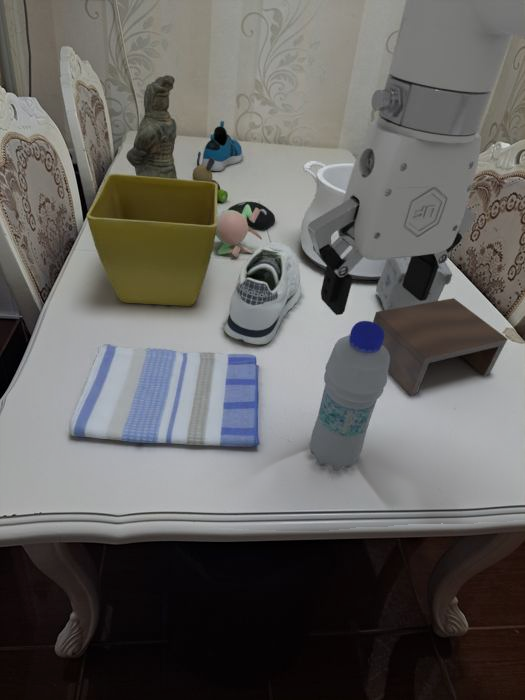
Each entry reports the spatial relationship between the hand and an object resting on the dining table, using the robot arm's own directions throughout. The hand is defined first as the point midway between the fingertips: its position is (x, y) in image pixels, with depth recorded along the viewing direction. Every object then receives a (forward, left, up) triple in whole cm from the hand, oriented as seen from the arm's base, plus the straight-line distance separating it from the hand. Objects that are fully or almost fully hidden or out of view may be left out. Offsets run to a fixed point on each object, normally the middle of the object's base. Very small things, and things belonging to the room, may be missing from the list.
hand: (374, 299), depth 47 cm
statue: (+73, +4, -23) cm, 76 cm away
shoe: (+114, -28, -23) cm, 119 cm away
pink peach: (+57, -9, -23) cm, 62 cm away
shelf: (+12, -25, -23) cm, 36 cm away
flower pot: (+45, +10, -23) cm, 51 cm away
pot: (+47, -33, -23) cm, 62 cm away
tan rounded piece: (+85, -12, -23) cm, 89 cm away
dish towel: (+16, +16, -23) cm, 32 cm away
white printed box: (+27, -32, -23) cm, 48 cm away
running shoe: (+35, -7, -23) cm, 42 cm away
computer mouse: (+70, -18, -23) cm, 76 cm away
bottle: (0, 0, -23) cm, 23 cm away
